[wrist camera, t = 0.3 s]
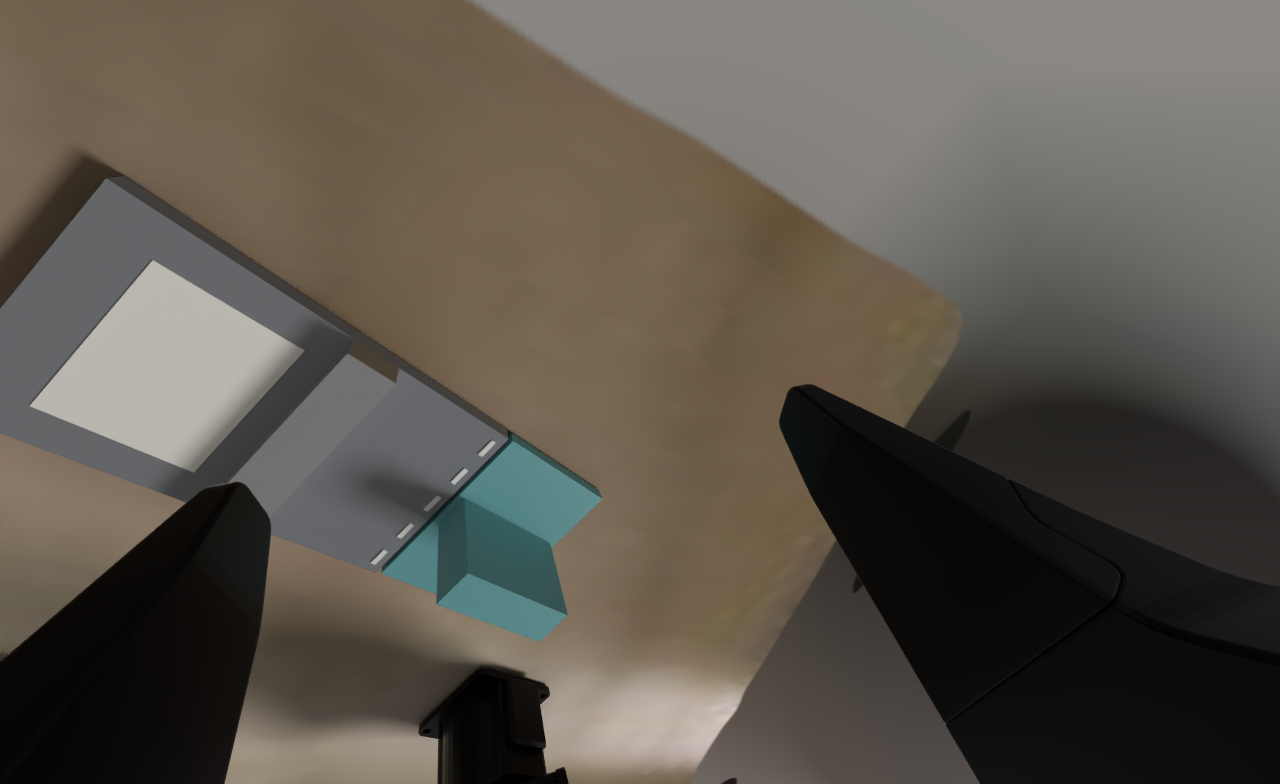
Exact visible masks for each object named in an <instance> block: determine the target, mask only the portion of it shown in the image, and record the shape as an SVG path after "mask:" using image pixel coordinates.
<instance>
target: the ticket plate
mask: <svg viewBox="0 0 1280 784" xmlns="http://www.w3.org/2000/svg"><path fill="white" fill-rule="evenodd" d="M0 433H1V434H4V435H7V436H9V437H12V438H15V439H17V440H20V441H23V442H25V443H28V444H31V445H34V446H36V447H39V448H42V449H44V450H47V451H50V452H52V453H55V454H58V455H60V456H63V457H66V458H68V459H71V460H74V461H77V462H79V463H82V464H85V465H87V466H90V467H93V468H95V469H98V470H101V471H103V472H106V473H109V474H111V475H114V476H117V477H119V478H122V479H125V480H128V481H130V482H133V483H136V484H138V485H141V486H144V487H146V488H149V489H152V490H154V491H157V492H160V493H162V494H165V495H168V496H171V497H173V498H176V499H179V500H181V501H184V502H188V501H189V500H190V499H191V498H192V497H194V496H195V495H196V494H197V493H198V492H200V491H201V490H202V489H204V488H206V487H209V486H213V485H218V484H224V483H230V482H242V483H244V484H245V485H246V486H247V487H248V488H249V489H250V490H251V492H252V493H253V495H254V496H255V497H256V499H257V500H258V501H259V503H260V504H261V506H262V507H263V508H264V510H265V511H266V512H267V514H268V516H269V518H270V522H271V534H273V535H275V536H278V537H281V538H283V539H286V540H289V541H291V542H294V543H297V544H300V545H302V546H305V547H308V548H310V549H313V550H316V551H318V552H321V553H324V554H326V555H329V556H332V557H334V558H337V559H340V560H343V561H345V562H348V563H351V564H353V565H356V566H359V567H361V568H364V569H367V570H369V571H372V572H375V573H376V572H377V571H378V570H379V569H380V568H381V567H382V566H383V565H384V564H385V563H386V562H387V561H388V560H389V559H390V558H391V557H392V556H393V555H394V554H395V553H396V552H397V551H398V550H399V549H400V548H401V547H402V546H403V545H404V544H405V543H406V542H407V541H408V540H409V539H410V538H411V537H412V536H413V535H414V534H415V533H416V532H417V531H418V530H419V529H420V528H421V527H422V526H423V525H424V524H425V523H426V522H427V521H428V520H429V519H430V518H431V517H432V516H433V515H434V514H435V513H436V512H437V511H438V510H439V509H440V508H441V507H442V506H443V505H444V504H445V503H446V502H447V501H448V500H449V499H450V498H451V497H452V496H453V495H454V494H455V493H456V492H457V491H458V490H459V489H460V488H461V487H462V486H463V485H464V484H465V483H466V482H467V481H468V480H469V479H470V478H471V477H472V475H473V474H474V473H475V472H476V471H477V470H478V469H479V468H480V467H481V466H482V465H483V464H484V463H485V462H486V461H487V460H488V459H489V458H490V457H491V456H492V455H493V454H494V453H495V452H496V451H497V450H498V449H499V448H500V447H501V446H502V445H503V444H504V443H505V442H506V441H507V440H508V439H509V438H508V433H507V428H505V427H504V426H502V425H501V424H499V423H498V422H496V421H494V420H493V419H491V418H490V417H488V416H487V415H485V414H484V413H482V412H481V411H479V410H478V409H476V408H475V407H473V406H472V405H470V404H469V403H467V402H466V401H464V400H463V399H461V398H460V397H458V396H457V395H455V394H454V393H452V392H451V391H449V390H448V389H446V388H445V387H443V386H442V385H440V384H439V383H437V382H436V381H434V380H433V379H431V378H429V377H428V376H426V375H425V374H423V373H422V372H420V371H419V370H417V369H416V368H414V367H413V366H411V365H410V364H408V363H407V362H405V361H404V360H402V359H401V358H399V357H398V356H396V355H395V354H393V353H392V352H390V351H389V350H387V349H386V348H384V347H383V346H381V345H380V344H378V343H377V342H375V341H374V340H372V339H371V338H369V337H367V336H366V335H364V334H363V333H361V332H360V331H358V330H357V329H355V328H354V327H352V326H351V325H349V324H348V323H346V322H345V321H343V320H342V319H340V318H339V317H337V316H336V315H334V314H333V313H331V312H330V311H328V310H327V309H325V308H324V307H322V306H321V305H319V304H318V303H316V302H315V301H313V300H312V299H310V298H309V297H307V296H305V295H304V294H302V293H301V292H299V291H298V290H296V289H295V288H293V287H292V286H290V285H289V284H287V283H286V282H284V281H283V280H281V279H280V278H278V277H277V276H275V275H274V274H272V273H271V272H269V271H268V270H266V269H265V268H263V267H262V266H260V265H259V264H257V263H256V262H254V261H253V260H251V259H250V258H248V257H247V256H245V255H244V254H242V253H240V252H239V251H237V250H236V249H234V248H233V247H231V246H230V245H228V244H227V243H225V242H224V241H222V240H221V239H219V238H218V237H216V236H215V235H213V234H212V233H210V232H209V231H207V230H206V229H204V228H203V227H201V226H200V225H198V224H197V223H195V222H194V221H192V220H191V219H189V218H188V217H186V216H185V215H183V214H182V213H180V212H178V211H177V210H175V209H174V208H172V207H171V206H169V205H168V204H166V203H165V202H163V201H162V200H160V199H159V198H157V197H156V196H154V195H153V194H151V193H150V192H148V191H147V190H145V189H144V188H142V187H141V186H139V185H138V184H136V183H135V182H133V181H132V180H130V179H129V178H127V177H126V176H119V177H112V178H106V179H105V180H104V182H103V183H102V184H101V185H100V186H99V188H98V189H97V190H96V191H95V193H94V194H93V195H92V196H91V198H90V199H89V200H88V201H87V202H86V204H85V205H84V206H83V207H82V209H81V210H80V211H79V212H78V214H77V215H76V216H75V217H74V218H73V220H72V221H71V222H70V223H69V225H68V226H67V227H66V228H65V230H64V231H63V232H62V233H61V234H60V236H59V237H58V238H57V239H56V241H55V242H54V243H53V244H52V246H51V247H50V248H49V249H48V251H47V252H46V253H45V254H44V255H43V257H42V258H41V259H40V260H39V262H38V263H37V264H36V265H35V267H34V268H33V269H32V270H31V271H30V273H29V274H28V275H27V276H26V278H25V279H24V280H23V281H22V283H21V284H20V285H19V286H18V287H17V289H16V290H15V291H14V292H13V294H12V295H11V296H10V297H9V299H8V300H7V301H6V302H5V303H4V305H3V306H2V307H1V308H0Z"/></svg>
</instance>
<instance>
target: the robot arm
mask: <svg viewBox="0 0 1280 784" xmlns="http://www.w3.org/2000/svg"><path fill="white" fill-rule="evenodd" d="M779 424H780V429H781V432H782V434H783V436H784V438H785V441H786V443H787V445H788V447H789V449H790V451H791V454H792V456H793V458H794V460H795V462H796V465H797V467H798V469H799V471H800V473H801V476H802V478H803V480H804V482H805V484H806V486H807V488H808V490H809V492H810V495H811V496H812V498H813V500H814V502H815V504H816V505H817V507H818V509H819V511H820V512H821V514H822V516H823V517H824V519H825V521H826V522H827V524H828V526H829V528H830V529H831V531H832V533H833V534H834V536H835V538H836V539H837V541H838V543H839V544H840V546H841V548H842V549H843V551H844V553H845V555H846V556H847V558H848V560H849V561H850V563H851V565H852V567H853V568H854V570H855V572H856V573H857V575H858V577H859V578H860V580H861V582H862V584H863V585H864V587H865V589H866V590H867V592H868V594H869V595H870V597H871V599H872V600H873V602H874V604H875V605H876V607H877V609H878V611H879V612H880V614H881V616H882V617H883V619H884V621H885V623H886V624H887V626H888V628H889V629H890V631H891V633H892V634H893V636H894V638H895V639H896V641H897V643H898V645H899V646H900V648H901V650H902V651H903V653H904V655H905V657H906V658H907V660H908V661H909V663H910V665H911V667H912V668H913V670H914V672H915V674H916V675H917V677H918V678H919V680H920V682H921V684H922V685H923V687H924V689H925V690H926V692H927V694H928V696H929V697H930V699H931V701H932V702H933V704H934V706H935V707H936V709H937V711H938V712H939V714H940V716H941V718H942V719H943V721H944V722H945V723H946V726H947V728H948V730H949V732H950V734H951V735H952V737H953V739H954V740H955V742H956V744H957V745H958V747H959V749H960V750H961V752H962V754H963V755H964V757H965V759H966V761H967V762H968V764H969V766H970V767H971V769H972V771H973V773H974V774H975V776H976V778H977V779H978V781H979V783H980V784H1280V586H1276V585H1271V584H1266V583H1262V582H1258V581H1254V580H1250V579H1245V578H1242V577H1239V576H1236V575H1233V574H1230V573H1226V572H1224V571H1221V570H1218V569H1216V568H1213V567H1210V566H1208V565H1206V564H1203V563H1201V562H1199V561H1196V560H1194V559H1191V558H1189V557H1187V556H1184V555H1182V554H1180V553H1177V552H1175V551H1172V550H1170V549H1168V548H1165V547H1163V546H1160V545H1158V544H1156V543H1153V542H1151V541H1149V540H1146V539H1144V538H1141V537H1139V536H1137V535H1134V534H1131V533H1129V532H1127V531H1125V530H1122V529H1120V528H1118V527H1115V526H1112V525H1110V524H1108V523H1106V522H1103V521H1101V520H1098V519H1097V518H1094V517H1092V516H1090V515H1087V514H1085V513H1082V512H1080V511H1078V510H1076V509H1073V508H1071V507H1068V506H1067V505H1064V504H1062V503H1060V502H1058V501H1056V500H1053V499H1051V498H1049V497H1047V496H1045V495H1043V494H1041V493H1038V492H1036V491H1034V490H1032V489H1030V488H1028V487H1026V486H1024V485H1022V484H1020V483H1018V482H1016V481H1013V480H1011V479H1008V480H1007V478H1006V477H1005V476H1003V475H1001V474H999V473H997V472H994V471H992V470H990V469H988V468H986V467H984V466H982V465H980V464H978V463H976V462H974V461H971V460H969V459H967V458H965V457H963V456H961V455H959V454H957V453H955V452H953V451H951V450H948V449H946V448H944V447H942V446H940V445H938V444H936V443H934V442H932V441H930V440H927V439H925V438H923V437H921V436H919V435H917V434H915V433H913V432H911V431H909V430H907V429H905V428H902V427H900V426H898V425H896V424H894V423H892V422H890V421H888V420H886V419H884V418H882V417H879V416H877V415H875V414H873V413H871V412H869V411H867V410H865V409H863V408H861V407H859V406H857V405H854V404H852V403H850V402H848V401H846V400H844V399H842V398H840V397H838V396H836V395H834V394H831V393H829V392H827V391H825V390H823V389H821V388H819V387H817V386H815V385H812V384H806V385H800V386H794V387H792V388H791V389H790V390H789V391H788V393H787V396H786V399H785V402H784V405H783V408H782V412H781V415H780V419H779ZM270 538H271V522H270V518H269V516H268V514H267V512H266V511H265V510H264V508H263V507H262V506H261V504H260V503H259V501H258V500H257V499H256V497H255V496H254V495H253V493H252V492H251V490H250V489H249V488H248V487H247V486H246V485H245V484H244V483H242V482H230V483H224V484H218V485H213V486H209V487H206V488H204V489H202V490H201V491H200V492H198V493H197V494H196V495H195V496H194V497H192V498H191V499H190V500H189V501H188V502H187V503H185V504H184V505H183V506H182V507H181V508H180V509H178V510H177V511H176V512H175V513H174V514H173V515H171V516H170V517H169V518H168V519H167V520H166V521H164V522H163V523H162V524H161V525H160V526H158V527H157V528H156V529H155V530H154V531H153V532H151V533H150V534H149V535H148V536H147V537H146V538H144V539H143V540H142V541H141V542H140V543H139V544H137V545H136V546H135V547H134V548H133V549H132V550H130V551H129V552H128V553H127V554H126V555H125V556H123V557H122V558H121V559H120V560H119V561H118V562H116V563H115V564H114V565H113V566H112V567H110V568H109V569H108V570H107V571H106V572H105V573H103V574H102V575H101V576H100V577H99V578H98V579H96V580H95V581H94V582H93V583H92V584H91V585H89V586H88V587H87V588H86V589H85V590H84V591H82V592H81V593H80V594H79V595H78V596H77V597H75V598H74V599H73V600H72V601H71V602H70V603H68V604H67V605H66V606H65V607H64V608H62V609H61V610H60V611H59V612H58V613H57V614H55V615H54V616H53V617H52V618H51V619H50V620H48V621H47V622H46V623H45V624H44V625H43V626H41V627H40V628H39V629H38V630H37V631H36V632H34V633H33V634H32V635H31V636H30V637H29V638H27V639H26V640H25V641H24V642H23V643H22V644H20V645H19V646H18V647H17V648H16V649H14V650H13V651H12V652H11V653H10V654H9V655H7V656H6V657H5V658H4V659H3V660H2V661H0V784H224V783H225V779H226V775H227V771H228V766H229V762H230V758H231V754H232V749H233V745H234V741H235V737H236V732H237V728H238V724H239V720H240V715H241V711H242V707H243V703H244V698H245V694H246V690H247V686H248V681H249V677H250V673H251V669H252V664H253V660H254V656H255V652H256V647H257V643H258V638H259V633H260V628H261V621H262V614H263V605H264V595H265V586H266V576H267V567H268V557H269V548H270ZM549 696H550V691H549V687H547V686H544V685H541V684H537V683H534V682H530V681H527V680H524V679H520V678H517V677H513V676H510V675H507V674H503V673H500V672H496V671H493V670H489V669H485V668H484V669H480V670H478V671H476V672H475V673H474V674H473V675H472V676H471V677H470V678H469V679H468V680H467V681H465V682H464V683H463V684H462V685H461V686H460V687H459V688H458V689H457V690H456V691H455V692H454V693H453V694H452V695H451V696H450V697H449V698H447V699H446V700H445V701H444V702H443V703H442V704H441V705H440V706H439V707H438V708H437V709H436V710H435V711H434V712H433V713H432V714H431V715H430V716H428V717H427V718H426V719H425V720H424V721H423V722H422V723H421V724H420V725H419V735H420V736H425V737H430V738H436V739H438V784H569V783H568V779H567V775H566V771H565V768H564V767H562V768H559V769H556V771H555V772H552V773H548V774H547V773H546V766H545V760H544V753H543V749H544V748H545V747H546V740H545V734H544V728H543V721H542V715H541V708H540V704H541V703H542V702H544V701H545V700H546V699H547V698H548V697H549Z"/></svg>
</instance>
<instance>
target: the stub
mask: <svg viewBox="0 0 1280 784" xmlns="http://www.w3.org/2000/svg"><path fill="white" fill-rule="evenodd" d="M508 438H509V439H508V440H507V441H506V442H505V443H504V444H503V445H502V446H501V447H500V448H499V449H498V450H497V451H496V452H495V453H494V454H493V455H492V456H491V457H490V458H489V459H488V460H487V461H486V462H485V463H484V464H483V465H482V466H481V467H480V468H479V469H478V470H477V471H476V472H475V473H474V474H473V475H472V477H471V478H470V479H469V480H468V481H467V482H466V483H465V484H464V485H463V486H462V487H461V488H460V489H459V490H458V491H457V492H456V493H455V494H454V495H453V496H452V497H451V498H450V499H449V500H448V501H447V502H446V503H445V504H444V505H443V506H442V507H441V508H440V509H439V510H438V511H437V512H436V513H435V514H434V515H433V516H432V517H431V518H430V519H429V520H428V521H427V522H426V523H425V524H424V525H423V526H422V527H421V528H420V529H419V530H418V531H417V532H416V533H415V534H414V535H413V536H412V537H411V538H410V539H409V540H408V541H407V542H406V543H405V544H404V545H403V546H402V547H401V548H400V549H399V550H398V551H397V552H396V553H395V554H394V555H393V556H392V557H391V558H390V559H389V560H388V561H387V562H386V563H385V564H384V565H383V566H382V572H381V573H382V574H384V575H387V576H390V577H392V578H395V579H398V580H400V581H403V582H406V583H408V584H411V585H414V586H416V587H419V588H422V589H424V590H427V591H430V592H432V593H435V594H437V602H436V604H437V605H440V606H443V607H445V608H448V609H451V610H454V611H456V612H459V613H462V614H465V615H468V616H470V617H473V618H476V619H479V620H481V621H484V622H487V623H490V624H493V625H495V626H498V627H501V628H504V629H506V630H509V631H512V632H515V633H518V634H520V635H523V636H526V637H529V638H531V639H534V640H537V641H541V640H542V639H543V638H544V637H545V636H546V635H547V634H548V633H549V632H551V631H552V630H553V629H554V628H555V627H556V626H557V625H558V624H559V623H560V622H561V621H562V620H563V619H564V618H565V617H567V616H568V614H567V610H566V606H565V602H564V598H563V594H562V590H561V586H560V581H559V577H558V573H557V569H556V565H555V561H554V557H553V553H552V549H551V548H552V547H553V546H554V545H555V544H556V543H557V542H558V541H559V540H560V539H561V538H562V537H563V536H564V535H565V534H567V533H568V532H569V531H570V530H571V529H572V528H573V527H574V526H575V525H576V524H577V523H578V522H579V521H580V520H581V519H582V518H583V517H584V516H585V515H586V514H587V513H588V512H589V511H590V510H591V509H593V508H594V507H595V506H596V505H597V504H598V503H599V502H600V501H601V500H602V497H601V494H600V492H599V490H598V489H596V488H595V487H593V486H592V485H590V484H589V483H587V482H586V481H584V480H583V479H581V478H579V477H578V476H576V475H575V474H573V473H572V472H570V471H569V470H567V469H566V468H564V467H563V466H561V465H560V464H558V463H557V462H555V461H554V460H552V459H551V458H549V457H548V456H546V455H545V454H543V453H542V452H540V451H539V450H537V449H536V448H534V447H533V446H531V445H529V444H528V443H526V442H525V441H523V440H522V439H520V438H519V437H517V436H516V435H514V434H513V433H511V434H510V435H509V436H508Z"/></svg>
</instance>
